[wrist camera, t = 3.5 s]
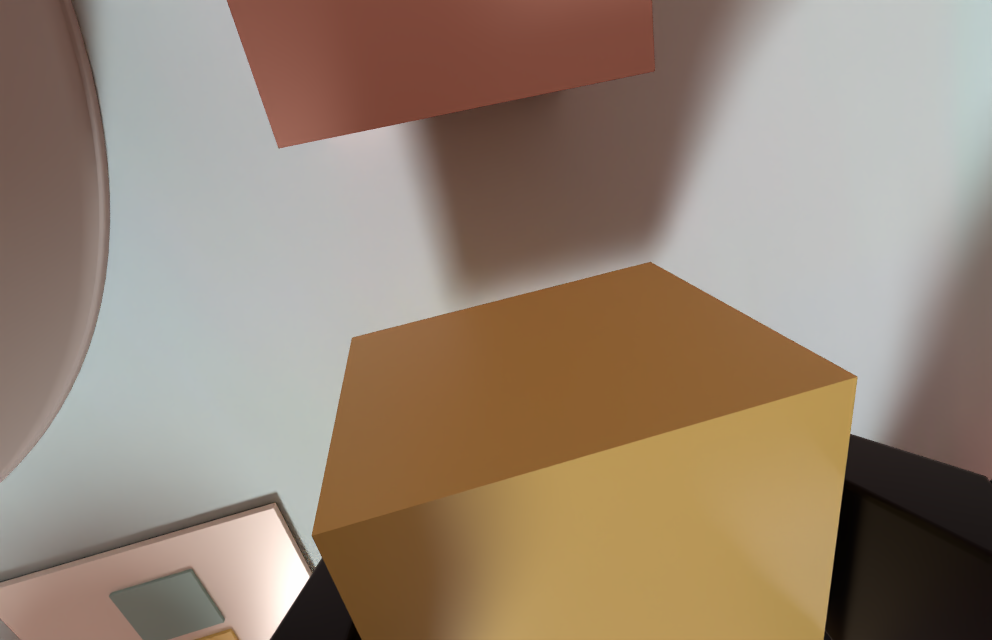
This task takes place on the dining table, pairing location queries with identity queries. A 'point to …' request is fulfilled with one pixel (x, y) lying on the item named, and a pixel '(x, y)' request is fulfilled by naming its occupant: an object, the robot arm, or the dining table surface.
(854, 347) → the dining table surface
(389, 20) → the terracotta brick
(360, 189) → the dining table surface
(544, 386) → the mustard brick
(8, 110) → the kettle
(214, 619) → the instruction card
